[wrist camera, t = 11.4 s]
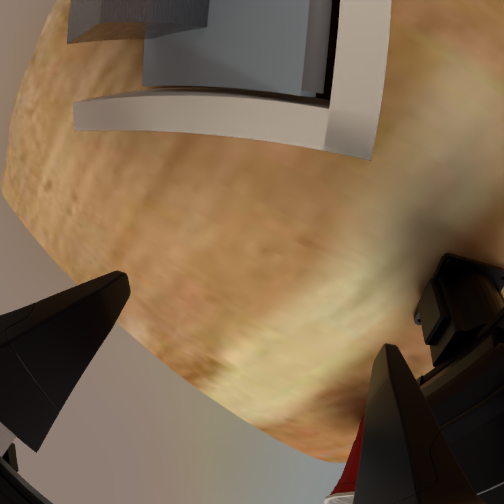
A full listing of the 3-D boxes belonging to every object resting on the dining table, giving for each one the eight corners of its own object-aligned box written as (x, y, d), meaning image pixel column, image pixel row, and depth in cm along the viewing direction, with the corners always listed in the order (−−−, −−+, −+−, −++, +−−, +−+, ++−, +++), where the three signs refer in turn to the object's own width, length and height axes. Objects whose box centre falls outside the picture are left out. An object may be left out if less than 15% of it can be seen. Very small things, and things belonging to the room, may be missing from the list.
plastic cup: (353, 392, 28) (337, 497, 18) (440, 401, 26) (442, 497, 16) (330, 432, 34) (312, 512, 24) (402, 440, 31) (395, 517, 22)
